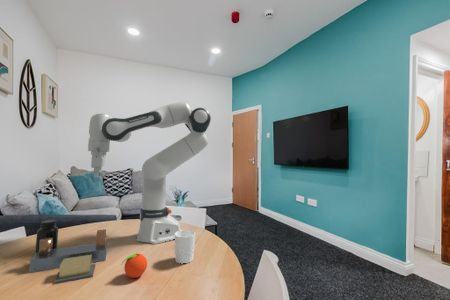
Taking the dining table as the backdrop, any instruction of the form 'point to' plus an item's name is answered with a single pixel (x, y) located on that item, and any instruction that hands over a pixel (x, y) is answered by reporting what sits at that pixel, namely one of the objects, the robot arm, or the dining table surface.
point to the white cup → (184, 246)
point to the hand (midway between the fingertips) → (97, 176)
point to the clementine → (135, 265)
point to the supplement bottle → (47, 233)
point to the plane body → (67, 253)
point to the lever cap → (75, 266)
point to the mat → (75, 276)
